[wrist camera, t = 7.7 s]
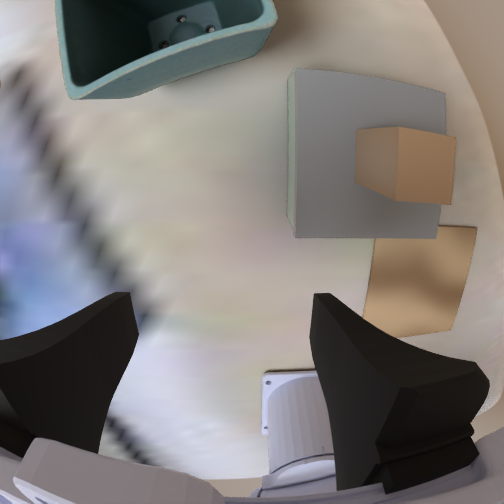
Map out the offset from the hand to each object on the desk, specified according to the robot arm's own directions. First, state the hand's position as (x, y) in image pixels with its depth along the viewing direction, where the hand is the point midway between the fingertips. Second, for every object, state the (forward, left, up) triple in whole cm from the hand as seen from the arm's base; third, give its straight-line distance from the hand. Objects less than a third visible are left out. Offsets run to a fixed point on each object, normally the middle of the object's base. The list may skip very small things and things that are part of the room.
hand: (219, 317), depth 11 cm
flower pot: (+14, +3, -10) cm, 18 cm away
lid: (+6, -8, -6) cm, 12 cm away
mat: (-4, -15, -10) cm, 18 cm away
